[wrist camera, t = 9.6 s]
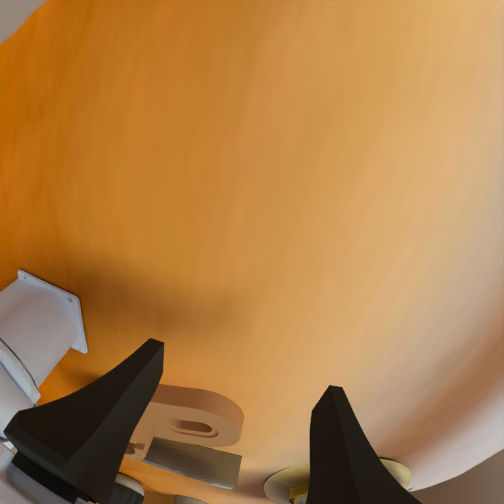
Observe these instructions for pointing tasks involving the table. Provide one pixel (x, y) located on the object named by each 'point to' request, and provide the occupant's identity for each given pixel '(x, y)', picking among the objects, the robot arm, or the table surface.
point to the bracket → (186, 420)
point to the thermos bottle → (187, 500)
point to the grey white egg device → (126, 491)
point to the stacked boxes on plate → (297, 481)
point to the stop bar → (195, 462)
